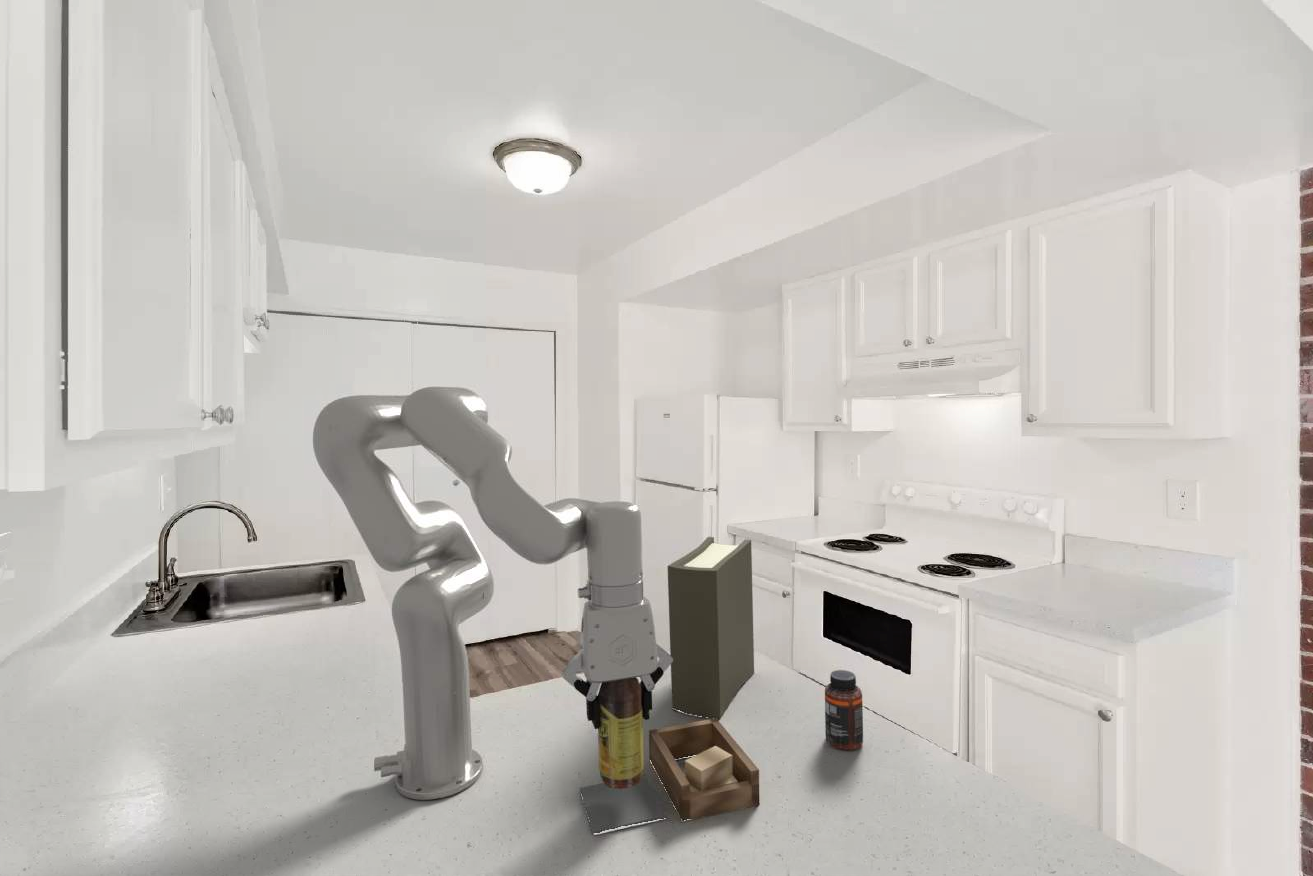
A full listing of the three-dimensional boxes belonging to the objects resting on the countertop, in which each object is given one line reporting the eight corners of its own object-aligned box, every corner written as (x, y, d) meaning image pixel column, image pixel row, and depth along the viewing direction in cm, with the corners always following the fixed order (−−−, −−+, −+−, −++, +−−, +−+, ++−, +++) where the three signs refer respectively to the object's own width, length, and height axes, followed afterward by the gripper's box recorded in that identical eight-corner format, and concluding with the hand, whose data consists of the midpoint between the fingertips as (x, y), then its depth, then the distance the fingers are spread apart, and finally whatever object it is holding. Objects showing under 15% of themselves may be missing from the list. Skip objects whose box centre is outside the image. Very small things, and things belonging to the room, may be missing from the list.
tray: (682, 822, 85) (681, 786, 85) (649, 761, 100) (648, 730, 100) (759, 804, 89) (759, 769, 88) (716, 748, 103) (716, 718, 103)
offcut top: (701, 792, 87) (701, 771, 87) (685, 781, 90) (684, 760, 90) (732, 775, 91) (732, 755, 91) (715, 765, 94) (715, 745, 94)
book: (719, 724, 112) (714, 568, 110) (670, 714, 116) (665, 563, 114) (754, 673, 132) (751, 539, 129) (711, 666, 136) (708, 536, 133)
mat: (593, 836, 83) (593, 831, 83) (579, 791, 93) (579, 787, 93) (666, 819, 86) (666, 815, 86) (645, 778, 96) (645, 774, 95)
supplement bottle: (863, 735, 106) (863, 669, 106) (862, 754, 101) (862, 684, 100) (826, 730, 108) (825, 665, 108) (823, 748, 103) (823, 680, 102)
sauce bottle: (599, 767, 92) (595, 632, 91) (642, 764, 92) (639, 629, 91) (599, 795, 85) (594, 649, 84) (645, 791, 86) (641, 647, 85)
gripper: (557, 608, 82) (562, 745, 82) (684, 592, 87) (687, 721, 88) (549, 592, 89) (553, 718, 90) (667, 578, 94) (670, 698, 95)
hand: (620, 718), depth 89 cm, fingers closed on sauce bottle, 6 cm apart
